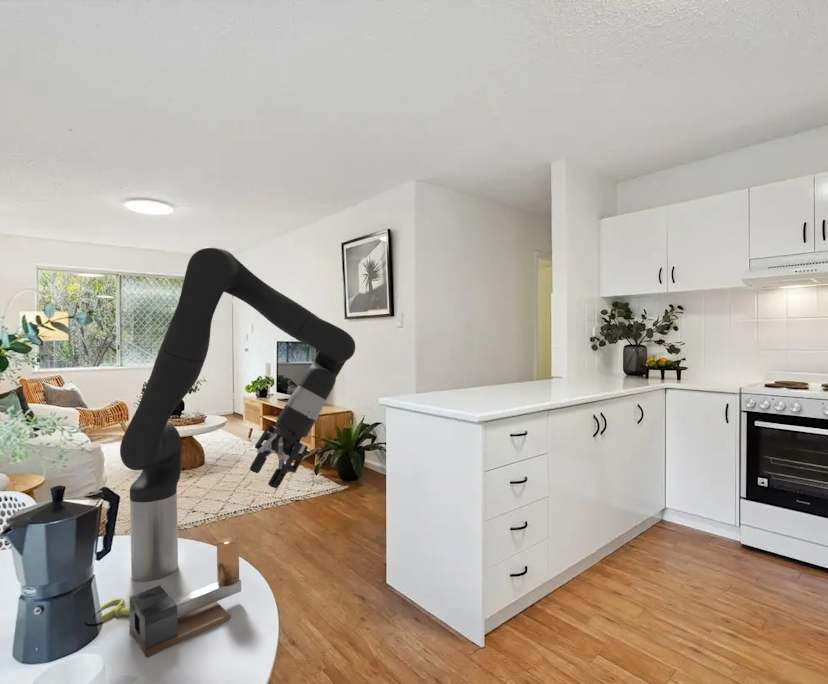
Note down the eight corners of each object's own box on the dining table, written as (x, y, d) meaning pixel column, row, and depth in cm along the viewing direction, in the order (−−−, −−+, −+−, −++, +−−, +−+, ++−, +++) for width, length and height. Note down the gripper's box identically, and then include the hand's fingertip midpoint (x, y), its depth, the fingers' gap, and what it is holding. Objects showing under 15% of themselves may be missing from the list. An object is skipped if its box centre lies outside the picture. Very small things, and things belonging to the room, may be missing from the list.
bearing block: (130, 626, 83) (129, 596, 83) (160, 614, 87) (160, 585, 87) (145, 650, 77) (144, 617, 77) (177, 636, 80) (176, 604, 80)
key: (151, 621, 87) (151, 610, 87) (79, 628, 85) (79, 616, 85) (166, 599, 94) (166, 589, 94) (100, 605, 92) (100, 594, 92)
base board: (129, 630, 83) (129, 625, 83) (208, 598, 93) (208, 593, 93) (146, 657, 76) (146, 651, 76) (229, 619, 86) (229, 614, 86)
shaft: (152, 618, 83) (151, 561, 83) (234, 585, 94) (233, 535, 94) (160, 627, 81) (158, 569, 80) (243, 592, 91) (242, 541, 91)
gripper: (273, 396, 105) (234, 461, 101) (306, 413, 95) (264, 487, 91) (297, 409, 110) (260, 472, 106) (331, 426, 100) (292, 497, 96)
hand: (262, 479), depth 99 cm, fingers open, 8 cm apart
